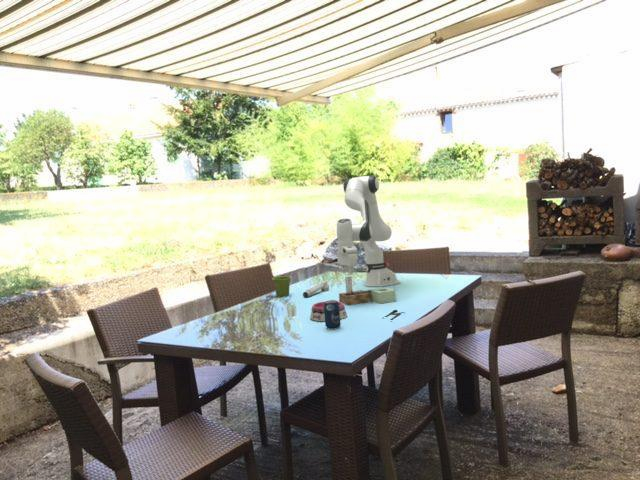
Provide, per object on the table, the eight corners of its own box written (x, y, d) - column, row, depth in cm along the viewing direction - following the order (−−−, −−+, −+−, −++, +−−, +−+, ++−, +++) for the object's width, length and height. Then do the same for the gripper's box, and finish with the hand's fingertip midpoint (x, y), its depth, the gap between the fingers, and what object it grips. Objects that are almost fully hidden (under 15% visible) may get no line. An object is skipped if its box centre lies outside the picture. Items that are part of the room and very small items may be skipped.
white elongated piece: (301, 291, 315) (322, 278, 336) (302, 302, 317) (324, 288, 337) (308, 291, 313) (329, 278, 333) (310, 302, 314) (331, 288, 334)
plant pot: (270, 297, 324) (268, 279, 323) (278, 293, 335) (277, 276, 334) (287, 297, 319) (285, 279, 318) (295, 293, 330) (294, 276, 329)
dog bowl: (355, 315, 261) (354, 302, 260) (329, 324, 248) (328, 310, 247) (328, 311, 274) (327, 298, 273) (302, 320, 261) (301, 306, 260)
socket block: (362, 297, 301) (361, 290, 300) (371, 301, 289) (370, 293, 289) (339, 301, 296) (338, 293, 296) (347, 305, 285) (346, 297, 284)
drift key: (376, 297, 298) (376, 288, 298) (378, 298, 296) (378, 289, 296) (357, 300, 294) (356, 291, 294) (359, 301, 292) (358, 292, 292)
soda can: (335, 329, 236) (333, 303, 235) (322, 328, 240) (320, 302, 239) (343, 326, 242) (341, 300, 241) (330, 325, 245) (328, 299, 244)
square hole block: (387, 298, 295) (386, 287, 294) (395, 301, 285) (395, 290, 285) (371, 300, 292) (370, 289, 291) (379, 303, 282) (378, 292, 282)
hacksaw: (394, 312, 263) (394, 309, 263) (413, 313, 257) (413, 310, 257) (372, 324, 242) (372, 321, 242) (392, 325, 237) (392, 322, 237)
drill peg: (351, 301, 294) (350, 276, 293) (354, 302, 291) (352, 277, 289) (345, 302, 293) (344, 277, 292) (348, 303, 289) (346, 278, 288)
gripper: (333, 247, 298) (335, 272, 299) (347, 250, 279) (349, 276, 280) (344, 246, 300) (345, 270, 301) (358, 249, 281) (360, 275, 282)
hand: (347, 273), depth 290 cm, fingers open, 8 cm apart
